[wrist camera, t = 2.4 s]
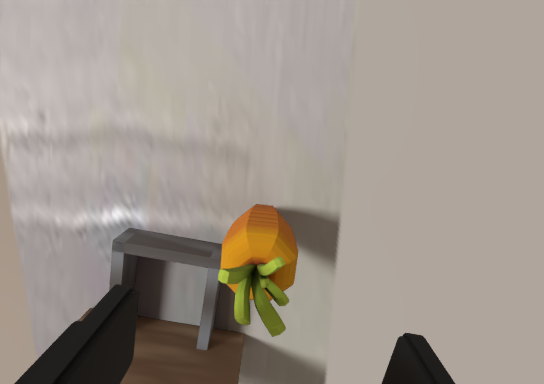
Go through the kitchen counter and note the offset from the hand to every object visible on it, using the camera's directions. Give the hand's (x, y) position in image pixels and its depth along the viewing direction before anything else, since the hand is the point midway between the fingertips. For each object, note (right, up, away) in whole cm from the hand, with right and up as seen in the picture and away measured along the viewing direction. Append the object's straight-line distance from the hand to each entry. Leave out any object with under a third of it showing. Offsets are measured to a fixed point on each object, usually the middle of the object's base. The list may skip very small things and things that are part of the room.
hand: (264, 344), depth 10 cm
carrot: (-1, +3, +18) cm, 18 cm away
